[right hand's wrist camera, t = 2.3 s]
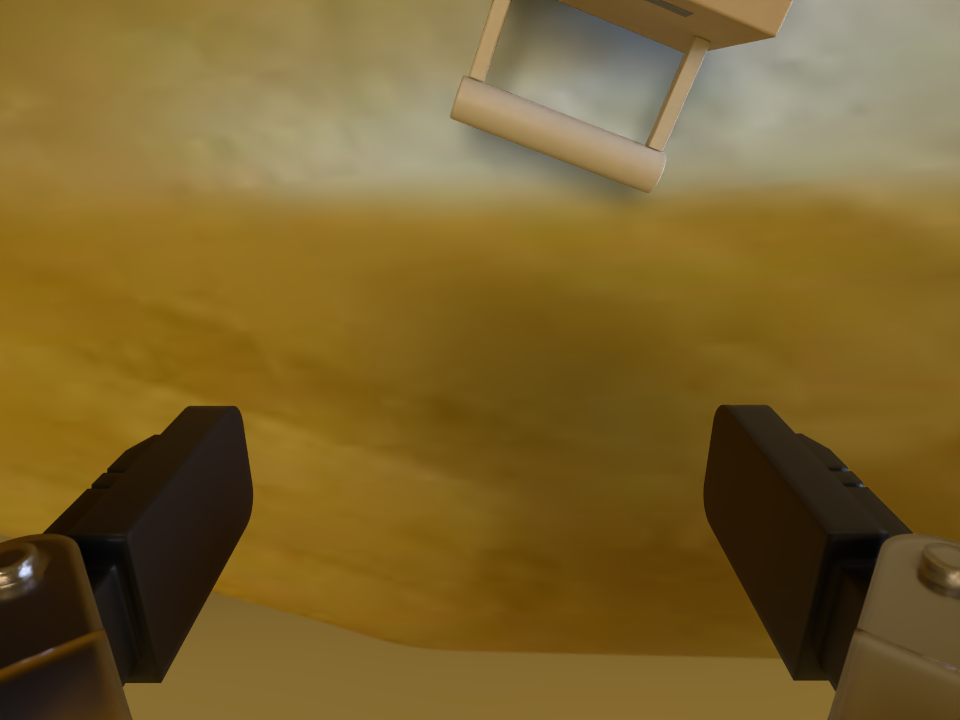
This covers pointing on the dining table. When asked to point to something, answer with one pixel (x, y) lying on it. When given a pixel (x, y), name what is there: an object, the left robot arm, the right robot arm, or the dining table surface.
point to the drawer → (644, 10)
